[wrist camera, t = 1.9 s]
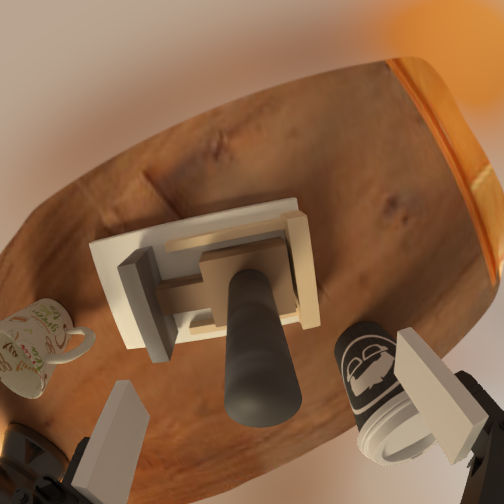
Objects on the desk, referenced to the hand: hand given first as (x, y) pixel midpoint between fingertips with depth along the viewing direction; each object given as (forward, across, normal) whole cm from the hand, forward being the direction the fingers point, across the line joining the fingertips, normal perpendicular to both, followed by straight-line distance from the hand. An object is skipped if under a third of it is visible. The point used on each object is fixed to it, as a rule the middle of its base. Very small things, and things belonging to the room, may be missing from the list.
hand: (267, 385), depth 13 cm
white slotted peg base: (+16, -5, 0) cm, 17 cm away
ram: (+15, -3, 0) cm, 15 cm away
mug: (+16, -22, -2) cm, 28 cm away
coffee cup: (+17, +10, -12) cm, 23 cm away
